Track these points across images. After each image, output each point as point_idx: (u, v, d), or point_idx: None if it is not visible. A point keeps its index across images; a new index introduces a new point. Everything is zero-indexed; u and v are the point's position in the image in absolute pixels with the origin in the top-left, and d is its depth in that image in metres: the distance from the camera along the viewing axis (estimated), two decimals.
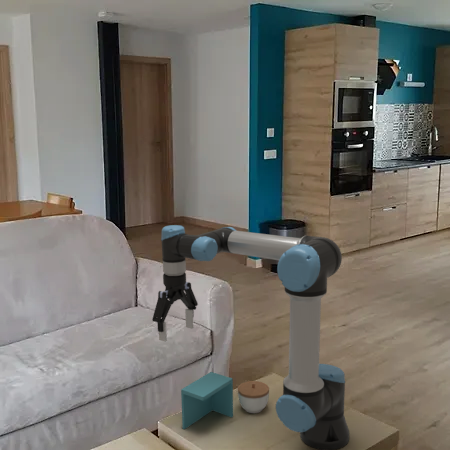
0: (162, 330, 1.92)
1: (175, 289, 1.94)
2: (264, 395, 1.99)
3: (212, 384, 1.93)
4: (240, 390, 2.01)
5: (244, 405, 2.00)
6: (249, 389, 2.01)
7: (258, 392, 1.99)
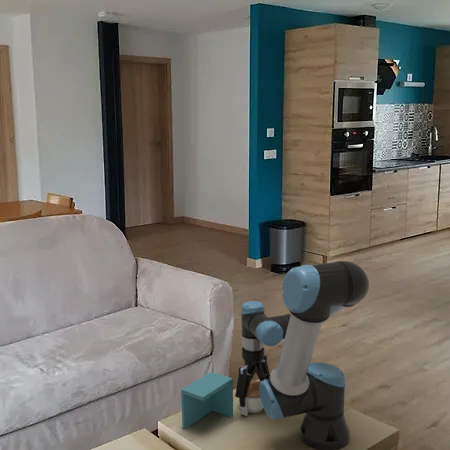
0: (244, 405, 1.97)
1: (254, 362, 1.99)
2: None
3: (212, 384, 1.93)
4: None
5: None
6: (249, 389, 2.01)
7: (258, 392, 1.99)
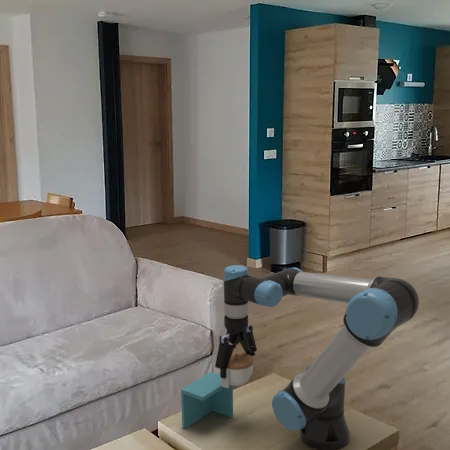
0: (225, 377, 1.84)
1: (236, 331, 1.85)
2: (247, 366, 1.84)
3: (212, 384, 1.93)
4: None
5: None
6: (232, 360, 1.87)
7: (240, 363, 1.85)
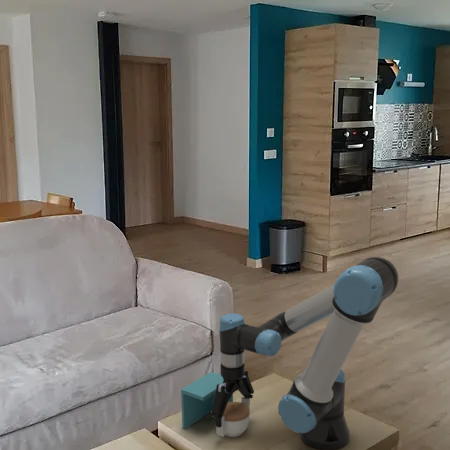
0: (220, 425, 1.82)
1: (233, 381, 1.84)
2: (244, 418, 1.84)
3: (212, 384, 1.93)
4: None
5: None
6: (228, 411, 1.87)
7: (237, 415, 1.85)
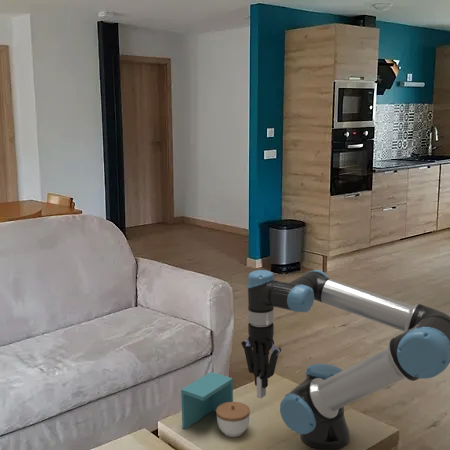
0: (256, 384, 1.80)
1: None
2: (244, 418, 1.84)
3: (212, 384, 1.93)
4: (218, 412, 1.86)
5: (223, 428, 1.85)
6: (229, 411, 1.87)
7: (238, 414, 1.85)
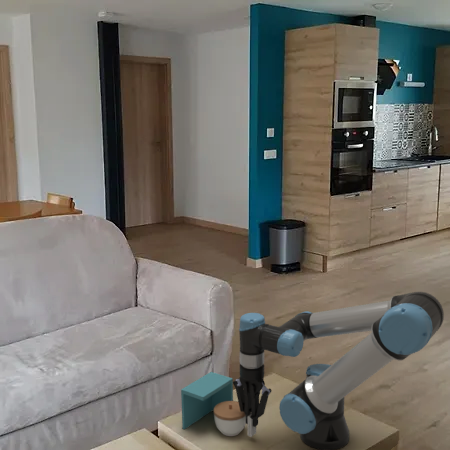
0: (247, 422, 1.84)
1: None
2: (242, 417, 1.85)
3: (212, 384, 1.93)
4: (216, 411, 1.87)
5: (220, 428, 1.86)
6: (226, 410, 1.87)
7: (235, 414, 1.85)
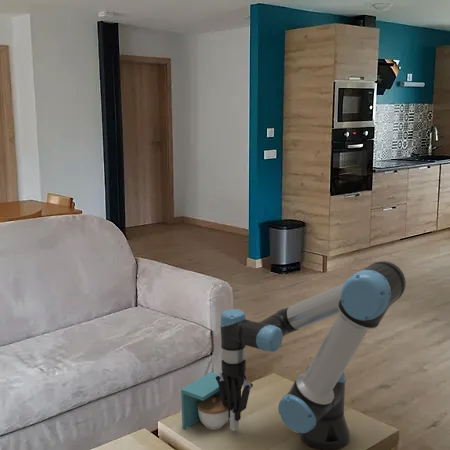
0: (230, 417, 1.88)
1: None
2: (224, 411, 1.89)
3: (212, 384, 1.93)
4: (199, 405, 1.91)
5: (203, 421, 1.90)
6: (209, 404, 1.91)
7: (218, 407, 1.89)
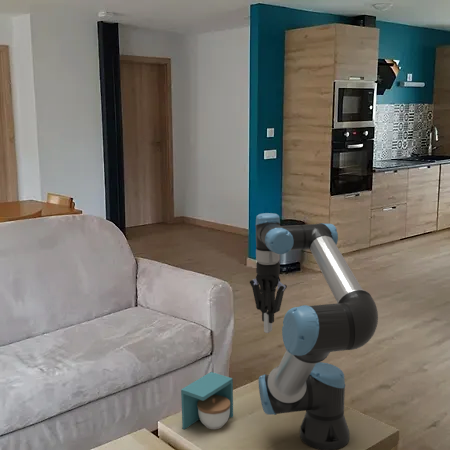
0: (263, 320, 1.94)
1: None
2: (224, 411, 1.89)
3: (212, 384, 1.93)
4: (199, 405, 1.91)
5: (203, 421, 1.90)
6: (209, 404, 1.91)
7: (218, 407, 1.89)
